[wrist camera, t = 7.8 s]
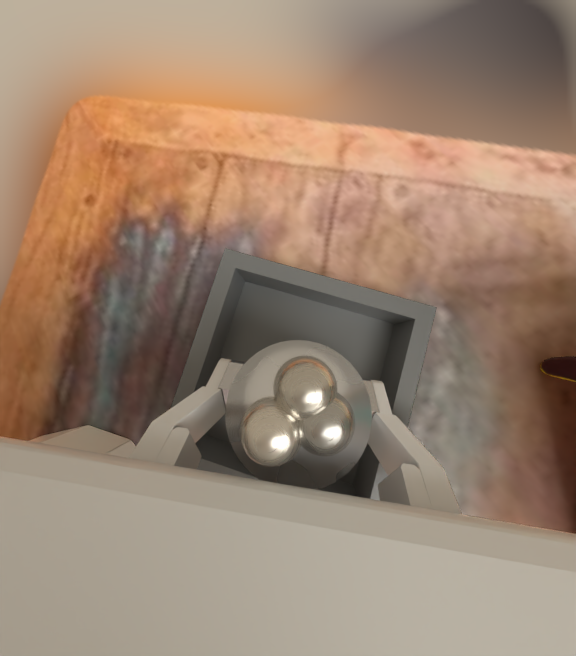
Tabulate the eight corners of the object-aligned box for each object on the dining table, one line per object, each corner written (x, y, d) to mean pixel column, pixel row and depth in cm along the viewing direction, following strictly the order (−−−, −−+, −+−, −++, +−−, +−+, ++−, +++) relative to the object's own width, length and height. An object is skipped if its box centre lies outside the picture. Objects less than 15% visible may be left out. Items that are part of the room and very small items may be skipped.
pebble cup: (318, 419, 14) (359, 541, 5) (255, 399, 14) (190, 482, 5) (336, 355, 14) (403, 366, 6) (274, 336, 15) (244, 318, 6)
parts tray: (359, 494, 14) (379, 541, 11) (185, 435, 15) (152, 461, 12) (404, 316, 16) (436, 307, 12) (240, 269, 16) (225, 248, 13)
